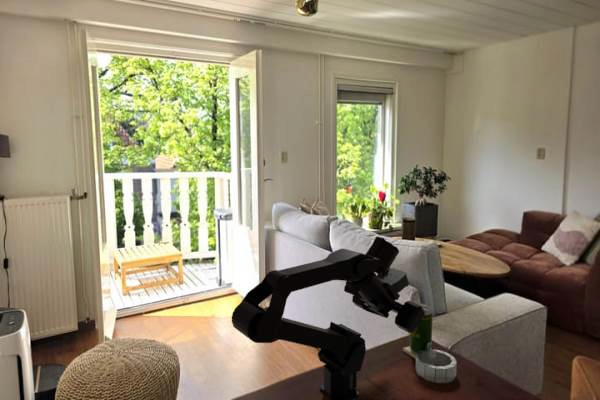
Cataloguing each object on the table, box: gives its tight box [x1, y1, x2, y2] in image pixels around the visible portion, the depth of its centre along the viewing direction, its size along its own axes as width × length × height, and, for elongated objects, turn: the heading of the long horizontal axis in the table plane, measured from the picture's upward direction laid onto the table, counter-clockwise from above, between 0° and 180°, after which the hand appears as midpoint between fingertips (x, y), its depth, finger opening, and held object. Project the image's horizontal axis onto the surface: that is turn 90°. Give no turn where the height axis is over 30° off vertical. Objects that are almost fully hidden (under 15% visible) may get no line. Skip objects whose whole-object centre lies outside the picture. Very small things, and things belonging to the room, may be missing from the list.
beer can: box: [409, 303, 434, 354], centre depth 108 cm, size 5×5×12 cm
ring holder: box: [415, 348, 458, 384], centre depth 100 cm, size 9×9×4 cm
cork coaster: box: [402, 345, 417, 360], centre depth 109 cm, size 6×6×1 cm
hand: (401, 323), depth 103 cm, fingers open, 9 cm apart
